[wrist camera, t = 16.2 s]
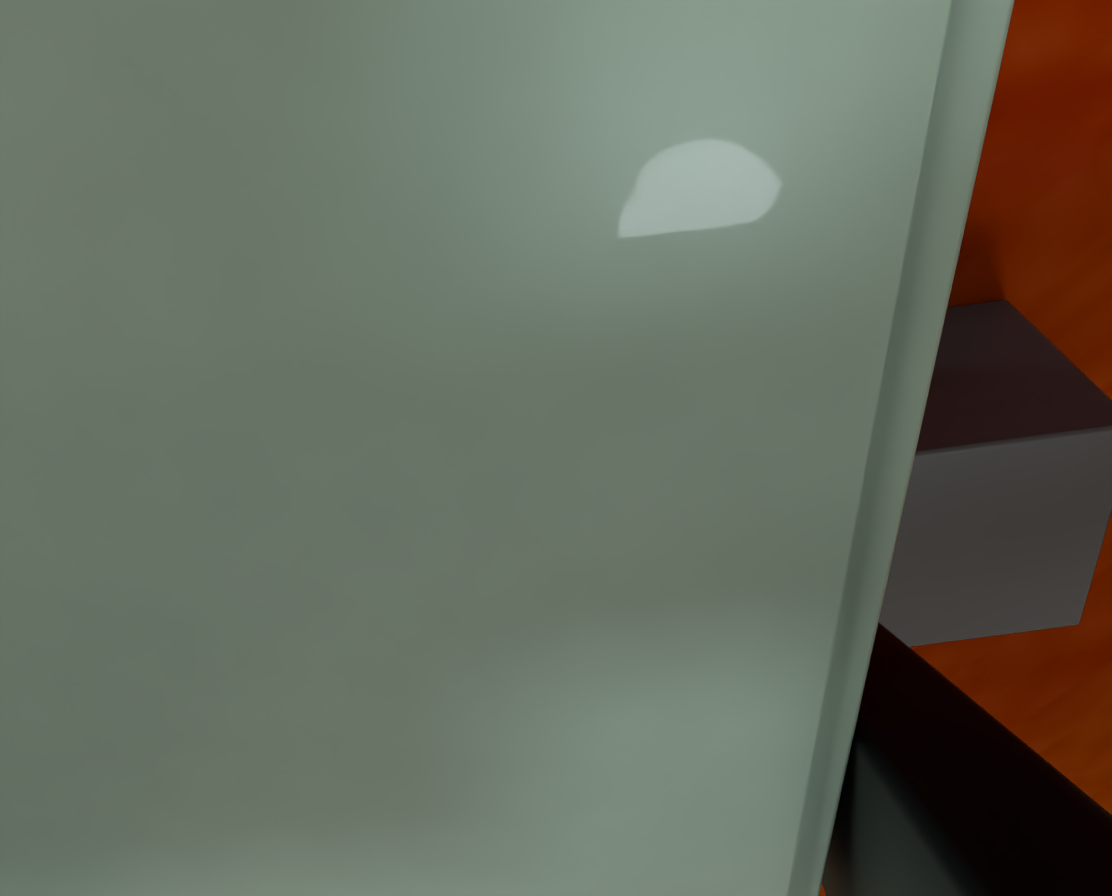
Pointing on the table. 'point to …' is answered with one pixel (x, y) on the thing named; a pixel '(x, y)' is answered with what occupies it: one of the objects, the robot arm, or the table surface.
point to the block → (1001, 487)
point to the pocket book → (459, 432)
